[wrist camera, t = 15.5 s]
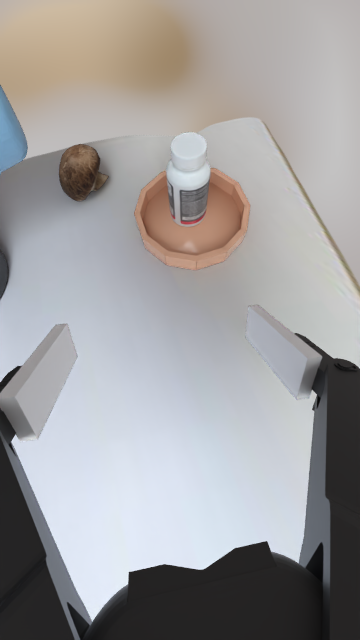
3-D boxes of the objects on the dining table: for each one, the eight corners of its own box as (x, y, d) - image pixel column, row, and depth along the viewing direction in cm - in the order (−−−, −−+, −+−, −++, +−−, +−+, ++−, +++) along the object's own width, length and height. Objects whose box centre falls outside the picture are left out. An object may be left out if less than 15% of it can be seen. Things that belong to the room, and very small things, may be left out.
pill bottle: (211, 207, 32) (222, 136, 23) (195, 233, 31) (199, 170, 22) (180, 194, 33) (178, 121, 24) (163, 219, 32) (154, 153, 23)
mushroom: (123, 158, 32) (83, 125, 27) (109, 212, 33) (68, 190, 28) (97, 164, 37) (59, 136, 32) (85, 210, 38) (47, 191, 33)
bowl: (117, 226, 33) (112, 215, 30) (186, 164, 36) (186, 149, 33) (197, 289, 30) (198, 282, 27) (265, 216, 33) (271, 203, 30)
